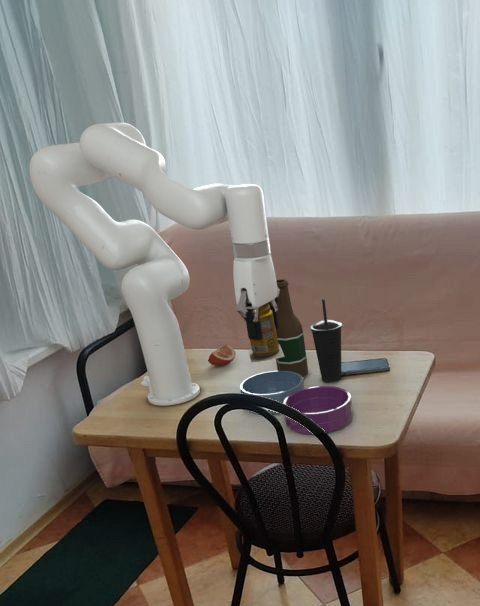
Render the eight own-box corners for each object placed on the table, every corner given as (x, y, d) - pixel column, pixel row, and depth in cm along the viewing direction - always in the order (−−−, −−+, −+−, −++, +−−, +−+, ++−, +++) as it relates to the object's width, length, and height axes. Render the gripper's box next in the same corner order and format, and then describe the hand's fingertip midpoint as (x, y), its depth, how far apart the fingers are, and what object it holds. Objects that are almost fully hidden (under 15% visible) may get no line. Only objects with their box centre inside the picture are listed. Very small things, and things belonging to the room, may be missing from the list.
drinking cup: (340, 386, 152) (332, 304, 142) (311, 383, 155) (301, 303, 145) (351, 374, 158) (344, 295, 149) (323, 372, 161) (315, 294, 151)
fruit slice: (221, 359, 176) (218, 342, 174) (242, 360, 174) (239, 343, 171) (204, 370, 169) (201, 352, 167) (226, 371, 167) (222, 353, 165)
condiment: (279, 345, 144) (270, 293, 138) (284, 357, 137) (274, 303, 131) (248, 351, 143) (237, 299, 137) (251, 364, 136) (239, 310, 130)
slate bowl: (231, 411, 144) (227, 391, 142) (264, 387, 155) (261, 368, 153) (285, 418, 138) (282, 397, 136) (316, 393, 150) (313, 373, 147)
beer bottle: (307, 380, 157) (294, 283, 146) (276, 382, 158) (261, 286, 146) (309, 368, 164) (298, 275, 152) (280, 370, 165) (266, 278, 153)
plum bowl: (274, 431, 133) (270, 409, 131) (306, 403, 145) (303, 383, 142) (334, 439, 128) (332, 417, 125) (363, 410, 139) (361, 389, 137)
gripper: (258, 241, 138) (269, 321, 147) (212, 258, 124) (227, 345, 133) (288, 241, 135) (297, 323, 144) (244, 259, 121) (257, 348, 130)
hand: (263, 333), depth 138 cm, fingers closed on condiment, 6 cm apart
